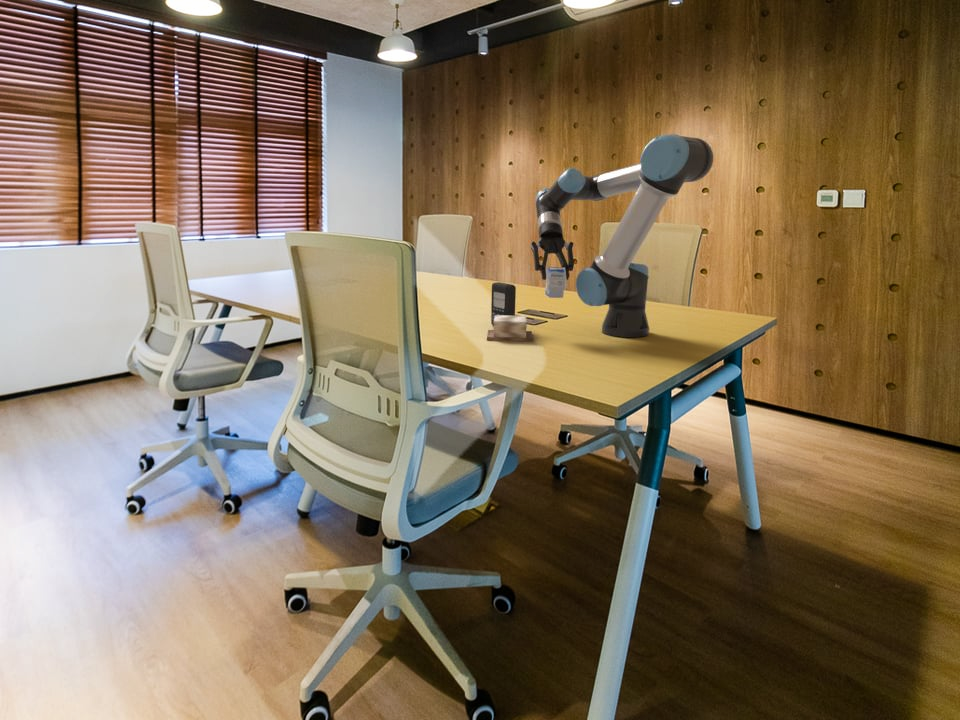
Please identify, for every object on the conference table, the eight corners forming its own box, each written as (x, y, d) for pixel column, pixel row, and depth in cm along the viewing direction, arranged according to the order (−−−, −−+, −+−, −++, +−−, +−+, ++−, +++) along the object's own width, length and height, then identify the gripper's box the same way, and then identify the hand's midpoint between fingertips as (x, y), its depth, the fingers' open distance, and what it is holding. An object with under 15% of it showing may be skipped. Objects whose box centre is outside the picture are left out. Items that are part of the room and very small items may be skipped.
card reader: (489, 326, 207) (490, 282, 203) (498, 324, 210) (499, 281, 206) (506, 330, 200) (507, 285, 196) (515, 329, 202) (516, 284, 199)
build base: (531, 334, 196) (532, 315, 194) (532, 341, 185) (533, 322, 184) (488, 332, 196) (488, 314, 195) (486, 340, 186) (487, 321, 184)
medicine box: (545, 294, 191) (545, 266, 189) (559, 294, 191) (560, 266, 189) (549, 297, 183) (550, 269, 181) (563, 297, 184) (564, 269, 182)
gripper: (575, 237, 198) (583, 294, 186) (522, 237, 198) (526, 294, 186) (579, 221, 192) (587, 279, 180) (524, 221, 191) (529, 279, 179)
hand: (556, 286), depth 183 cm, fingers closed on medicine box, 4 cm apart
